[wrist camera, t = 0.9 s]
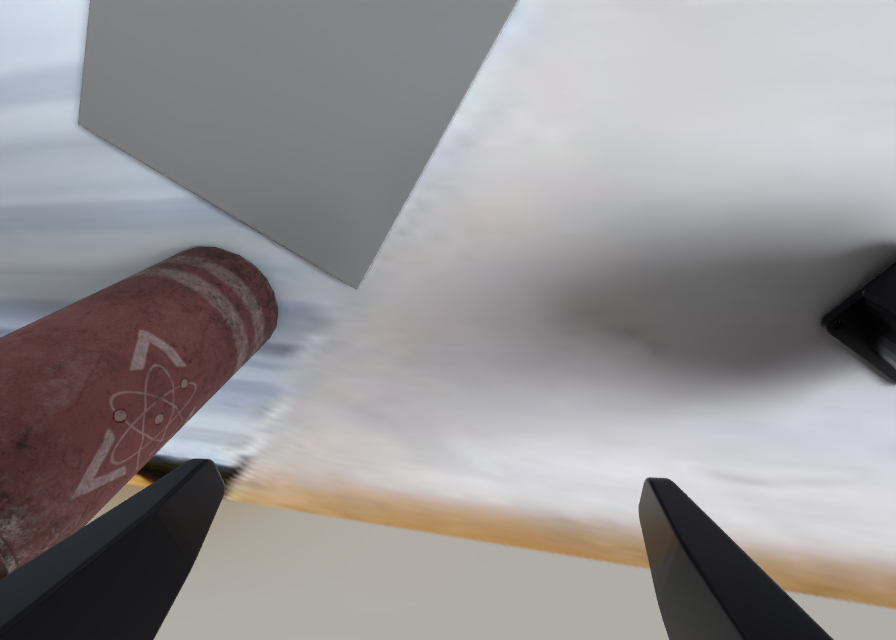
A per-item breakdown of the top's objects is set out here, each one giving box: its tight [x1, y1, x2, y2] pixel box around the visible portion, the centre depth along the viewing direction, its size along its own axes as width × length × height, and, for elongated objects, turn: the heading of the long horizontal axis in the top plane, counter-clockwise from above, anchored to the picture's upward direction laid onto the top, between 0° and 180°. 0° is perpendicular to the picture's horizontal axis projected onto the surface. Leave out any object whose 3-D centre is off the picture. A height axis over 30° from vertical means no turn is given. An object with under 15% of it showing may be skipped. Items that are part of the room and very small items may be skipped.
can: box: [0, 247, 278, 580], centre depth 16 cm, size 6×6×14 cm
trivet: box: [78, 0, 519, 290], centre depth 16 cm, size 14×14×1 cm
